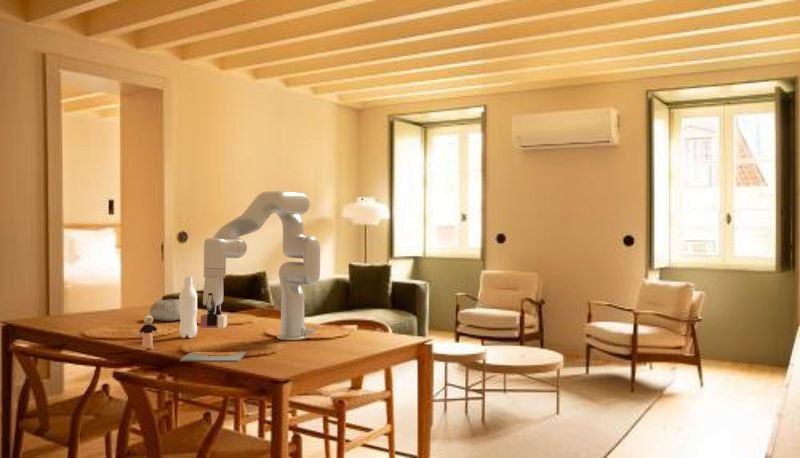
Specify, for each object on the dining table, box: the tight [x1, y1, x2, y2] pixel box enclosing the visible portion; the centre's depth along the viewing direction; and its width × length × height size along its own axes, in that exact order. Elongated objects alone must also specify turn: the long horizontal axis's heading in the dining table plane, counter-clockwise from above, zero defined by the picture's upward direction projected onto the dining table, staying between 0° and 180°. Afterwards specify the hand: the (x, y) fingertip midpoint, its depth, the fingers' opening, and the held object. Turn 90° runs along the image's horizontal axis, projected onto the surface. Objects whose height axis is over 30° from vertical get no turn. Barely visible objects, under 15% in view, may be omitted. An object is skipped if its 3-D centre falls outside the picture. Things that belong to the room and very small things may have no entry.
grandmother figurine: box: [137, 314, 159, 351], centre depth 241 cm, size 8×4×13 cm, turn 148°
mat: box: [179, 351, 247, 363], centre depth 228 cm, size 20×14×1 cm
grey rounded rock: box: [149, 298, 180, 322], centre depth 310 cm, size 18×18×10 cm
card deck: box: [200, 313, 228, 329], centre depth 228 cm, size 5×8×4 cm, turn 91°
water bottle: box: [178, 276, 198, 339], centre depth 266 cm, size 7×7×25 cm
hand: (214, 323), depth 228 cm, fingers closed on card deck, 4 cm apart
